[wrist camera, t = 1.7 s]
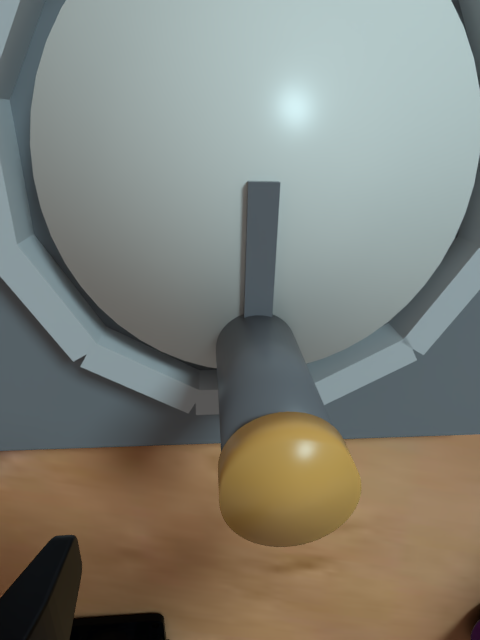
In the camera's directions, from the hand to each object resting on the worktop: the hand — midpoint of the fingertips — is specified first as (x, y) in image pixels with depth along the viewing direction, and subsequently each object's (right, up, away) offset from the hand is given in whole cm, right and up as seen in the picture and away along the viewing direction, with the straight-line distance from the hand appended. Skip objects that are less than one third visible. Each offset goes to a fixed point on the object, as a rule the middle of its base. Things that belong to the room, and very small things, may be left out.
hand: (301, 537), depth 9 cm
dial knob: (-1, +10, +6) cm, 11 cm away
